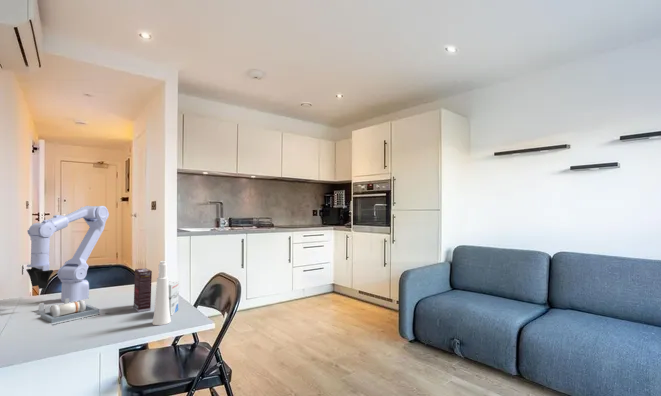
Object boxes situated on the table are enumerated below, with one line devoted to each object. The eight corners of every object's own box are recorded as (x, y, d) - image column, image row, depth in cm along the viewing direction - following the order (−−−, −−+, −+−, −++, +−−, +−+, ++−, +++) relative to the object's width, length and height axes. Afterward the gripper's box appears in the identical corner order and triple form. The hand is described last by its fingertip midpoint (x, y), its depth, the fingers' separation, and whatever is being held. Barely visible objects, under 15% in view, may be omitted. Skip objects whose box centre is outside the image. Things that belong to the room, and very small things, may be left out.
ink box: (166, 310, 141) (166, 280, 141) (178, 309, 141) (179, 280, 141) (157, 316, 132) (158, 285, 132) (170, 316, 132) (171, 285, 133)
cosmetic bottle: (168, 324, 123) (169, 262, 123) (149, 325, 121) (151, 262, 122) (172, 319, 128) (173, 259, 129) (155, 320, 127) (156, 260, 128)
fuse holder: (71, 305, 146) (71, 297, 146) (81, 309, 141) (81, 300, 141) (32, 313, 135) (32, 303, 135) (41, 317, 130) (41, 308, 130)
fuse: (83, 314, 136) (79, 306, 138) (86, 305, 134) (82, 297, 137) (52, 320, 127) (48, 312, 130) (55, 311, 126) (51, 302, 128)
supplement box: (151, 310, 140) (152, 270, 141) (138, 312, 137) (139, 272, 138) (146, 305, 147) (146, 267, 147) (133, 307, 144) (134, 269, 144)
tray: (86, 310, 140) (87, 304, 140) (99, 314, 134) (99, 309, 134) (40, 319, 128) (40, 313, 128) (51, 325, 121) (51, 318, 121)
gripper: (21, 252, 140) (20, 286, 140) (33, 255, 132) (32, 291, 132) (43, 250, 146) (42, 283, 145) (56, 253, 138) (55, 288, 137)
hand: (39, 287), depth 139 cm, fingers open, 7 cm apart
